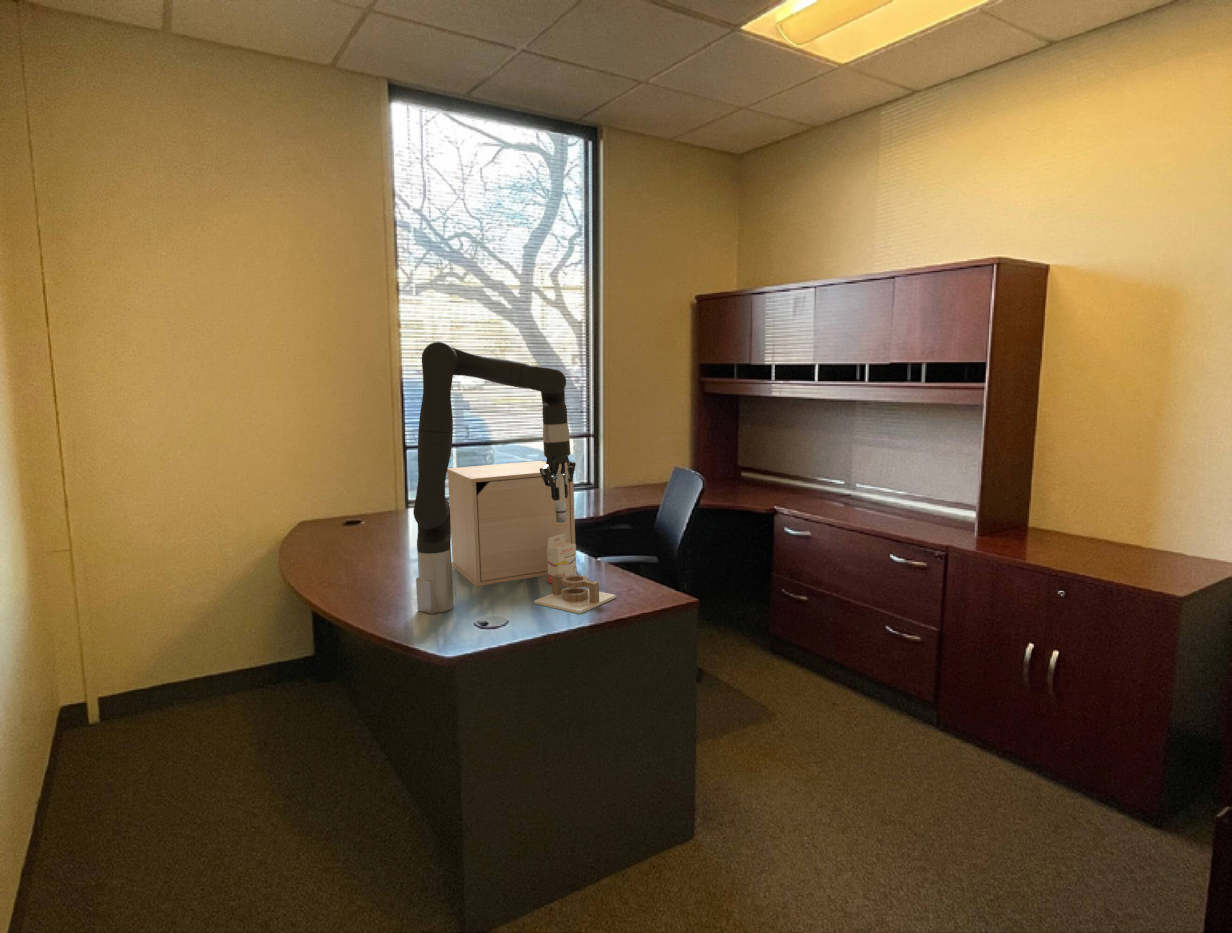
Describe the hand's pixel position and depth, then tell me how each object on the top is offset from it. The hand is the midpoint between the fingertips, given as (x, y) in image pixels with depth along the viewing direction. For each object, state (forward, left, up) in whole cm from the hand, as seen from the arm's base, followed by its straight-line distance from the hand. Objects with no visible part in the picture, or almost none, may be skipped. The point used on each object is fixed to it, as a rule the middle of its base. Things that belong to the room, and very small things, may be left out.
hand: (559, 498), depth 208 cm
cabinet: (+18, +38, -30) cm, 51 cm away
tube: (0, 0, -7) cm, 7 cm away
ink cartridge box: (+15, +13, -30) cm, 36 cm away
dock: (+2, -3, -30) cm, 30 cm away
